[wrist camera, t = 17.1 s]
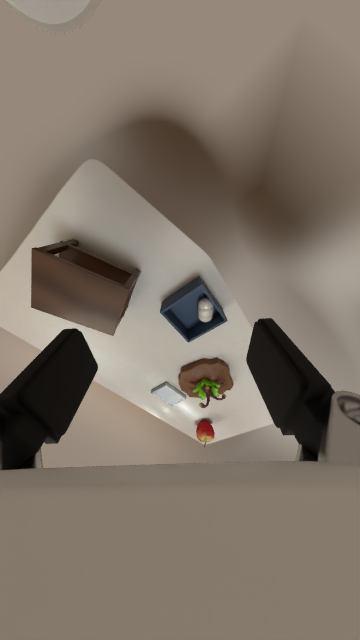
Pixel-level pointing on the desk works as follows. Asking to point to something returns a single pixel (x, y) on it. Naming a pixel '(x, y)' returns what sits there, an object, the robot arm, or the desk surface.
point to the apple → (205, 431)
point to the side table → (80, 286)
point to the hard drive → (168, 394)
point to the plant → (206, 379)
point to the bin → (191, 310)
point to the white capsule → (205, 309)
